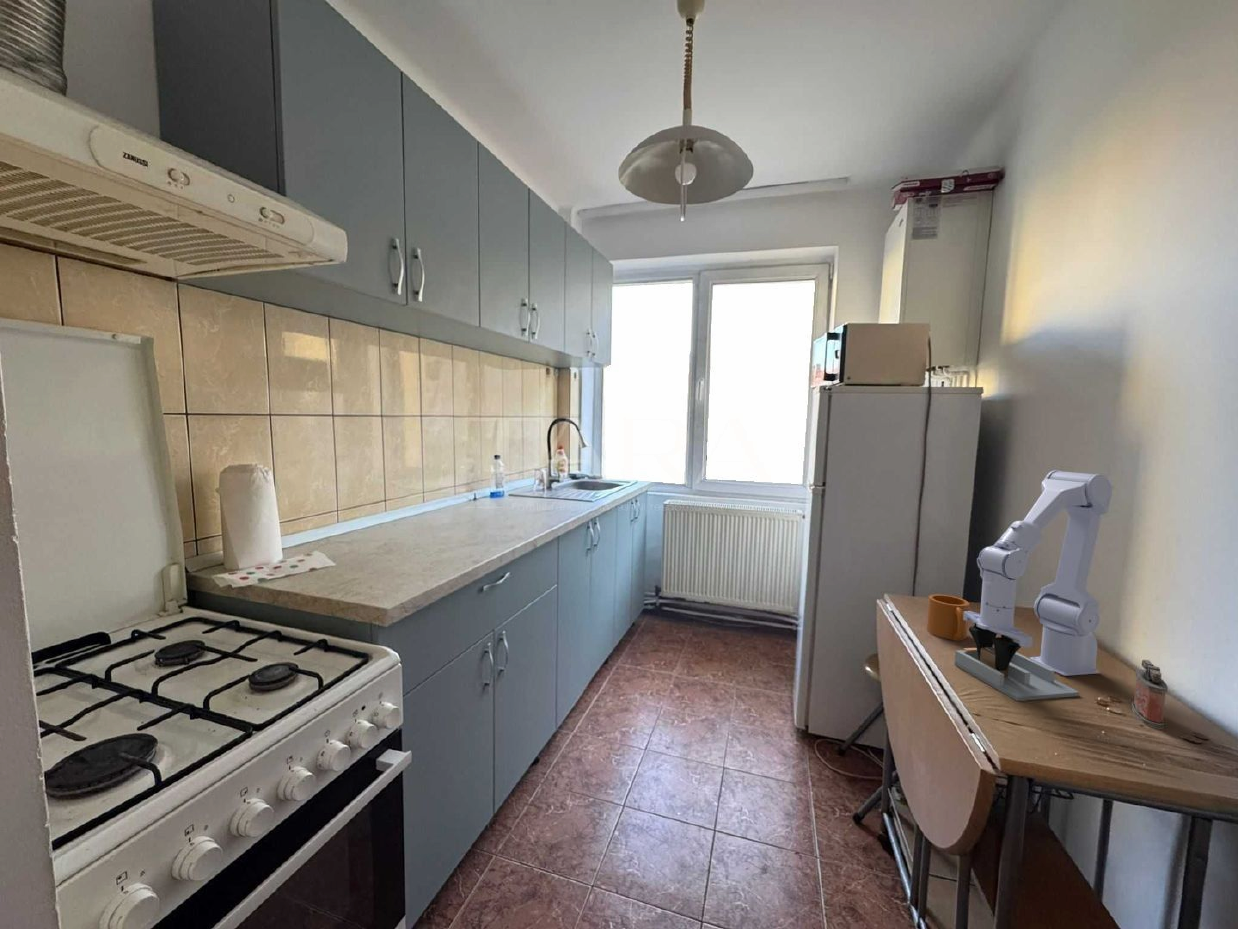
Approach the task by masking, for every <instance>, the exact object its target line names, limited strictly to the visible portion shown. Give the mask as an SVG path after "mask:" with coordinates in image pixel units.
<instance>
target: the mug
mask: <svg viewBox="0 0 1238 929" xmlns="http://www.w3.org/2000/svg"><path fill="white" fill-rule="evenodd" d="M927 602H928V603H927V615H926V616H927V617H926V618H927V620H926V631H927V632H928V633H930V634H931V635H933V636H936V637H938V638H943V639H946V640H951V641H952V640H953V641H956V642H961V641H963V640H962V639H964V640H966V639H967V638H968V629H969V626H968V625H969V621H965V620H963V615H964V611H970V603H969V601H967V600H966V599H963V598H961V597H958V596H953V595H946V594H931V595H930V594H929V595H928V601H927ZM965 638H966V639H965Z"/></svg>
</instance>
